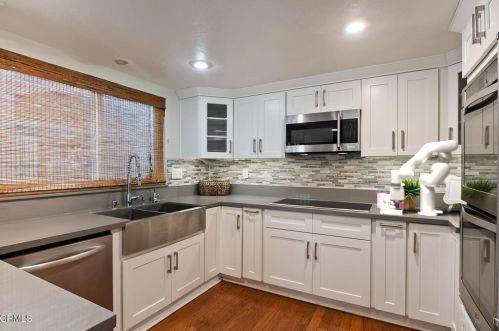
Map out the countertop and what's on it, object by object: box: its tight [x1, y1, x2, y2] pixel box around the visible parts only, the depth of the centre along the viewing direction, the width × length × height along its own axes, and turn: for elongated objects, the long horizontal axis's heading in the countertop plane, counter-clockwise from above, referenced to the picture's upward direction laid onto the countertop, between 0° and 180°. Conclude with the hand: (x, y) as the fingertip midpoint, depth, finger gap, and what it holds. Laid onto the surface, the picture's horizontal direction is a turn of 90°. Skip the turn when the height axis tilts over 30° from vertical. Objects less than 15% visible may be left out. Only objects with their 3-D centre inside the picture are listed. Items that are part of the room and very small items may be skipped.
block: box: [382, 204, 388, 210], centre depth 214 cm, size 4×4×4 cm
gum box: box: [376, 191, 405, 213], centre depth 232 cm, size 24×8×14 cm, turn 14°
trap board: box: [379, 208, 403, 216], centre depth 215 cm, size 15×12×3 cm
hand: (397, 208), depth 210 cm, fingers closed
